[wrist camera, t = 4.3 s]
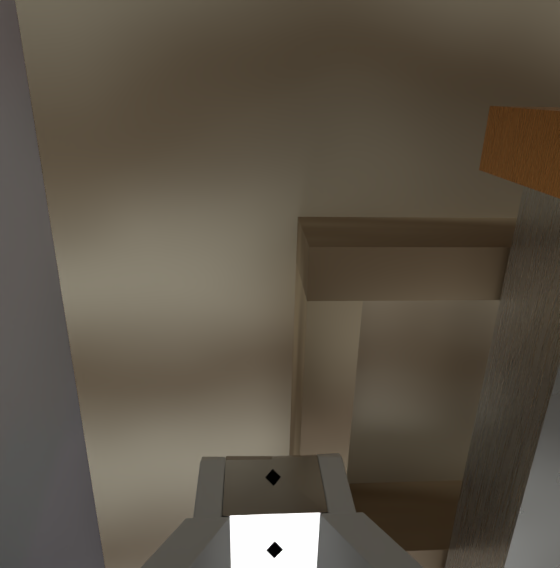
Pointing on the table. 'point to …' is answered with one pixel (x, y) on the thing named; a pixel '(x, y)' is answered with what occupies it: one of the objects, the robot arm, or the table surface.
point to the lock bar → (519, 366)
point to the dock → (280, 238)
